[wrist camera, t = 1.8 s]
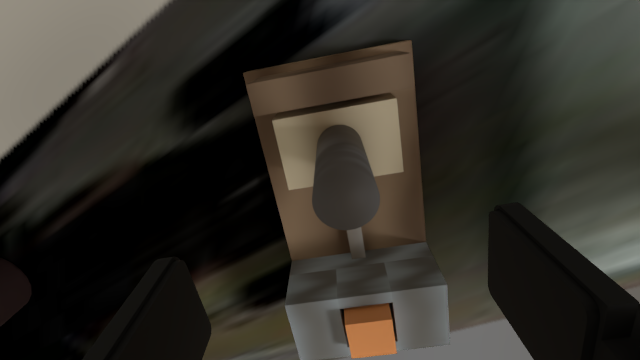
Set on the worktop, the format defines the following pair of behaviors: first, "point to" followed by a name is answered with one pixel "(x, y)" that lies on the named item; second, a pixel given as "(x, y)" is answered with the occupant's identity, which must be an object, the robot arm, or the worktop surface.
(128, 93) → the worktop surface
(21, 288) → the bottle
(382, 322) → the button
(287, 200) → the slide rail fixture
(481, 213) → the worktop surface
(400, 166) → the cream plate with knob
